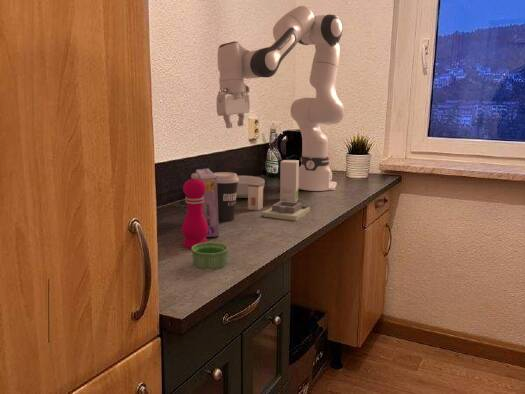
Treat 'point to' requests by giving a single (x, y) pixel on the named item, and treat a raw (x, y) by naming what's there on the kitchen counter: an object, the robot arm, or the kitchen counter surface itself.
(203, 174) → the cake pan box
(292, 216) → the board
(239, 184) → the cereal bowl
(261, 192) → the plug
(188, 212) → the pepper mill
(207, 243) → the ramekin
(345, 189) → the kitchen counter surface
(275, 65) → the robot arm
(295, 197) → the skincare box
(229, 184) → the coffee cup
